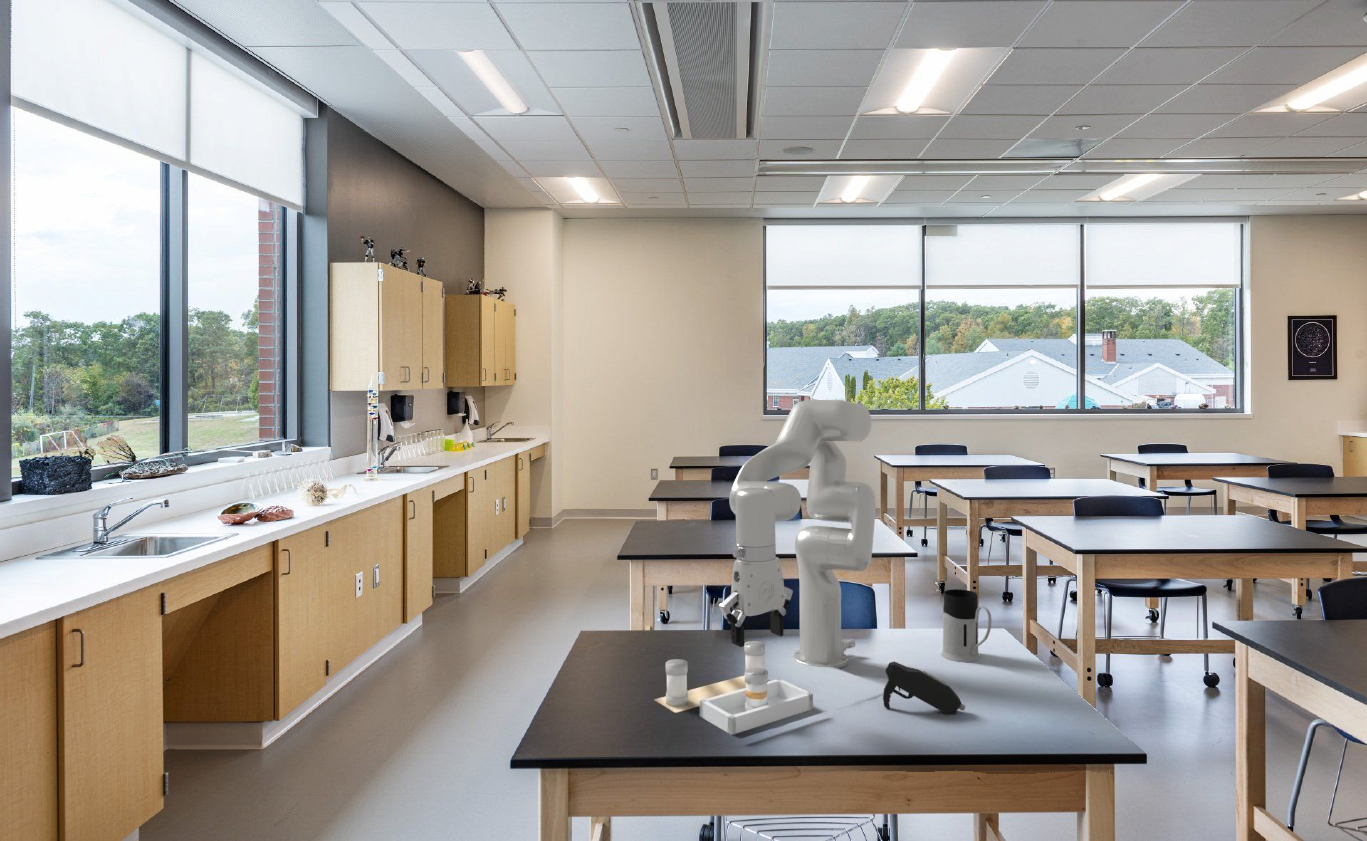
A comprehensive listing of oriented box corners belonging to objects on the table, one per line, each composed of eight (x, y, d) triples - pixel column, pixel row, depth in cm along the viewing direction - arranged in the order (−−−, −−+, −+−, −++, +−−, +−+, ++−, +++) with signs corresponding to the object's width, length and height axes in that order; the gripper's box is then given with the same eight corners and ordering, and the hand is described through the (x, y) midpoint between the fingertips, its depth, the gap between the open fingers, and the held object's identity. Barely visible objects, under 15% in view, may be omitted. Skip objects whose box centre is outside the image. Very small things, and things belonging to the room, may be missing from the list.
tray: (779, 697, 161) (779, 678, 161) (813, 714, 153) (812, 693, 153) (699, 721, 150) (699, 700, 150) (731, 740, 142) (731, 718, 141)
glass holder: (962, 648, 191) (962, 587, 190) (1005, 667, 178) (1005, 601, 177) (933, 652, 188) (933, 590, 187) (974, 672, 174) (974, 605, 174)
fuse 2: (756, 676, 171) (756, 639, 170) (769, 682, 167) (769, 645, 167) (740, 680, 168) (740, 643, 168) (753, 686, 165) (753, 649, 164)
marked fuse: (772, 713, 151) (772, 672, 150) (754, 719, 148) (754, 677, 148) (758, 706, 154) (758, 666, 154) (740, 711, 152) (740, 670, 152)
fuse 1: (680, 696, 160) (679, 657, 159) (692, 703, 156) (691, 664, 156) (661, 701, 157) (661, 662, 157) (673, 708, 153) (673, 668, 153)
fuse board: (754, 677, 173) (754, 672, 173) (777, 688, 166) (777, 683, 166) (653, 704, 158) (653, 699, 158) (675, 717, 152) (675, 712, 152)
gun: (946, 743, 152) (971, 699, 151) (870, 700, 154) (894, 657, 153) (944, 737, 155) (969, 694, 154) (870, 695, 157) (893, 652, 156)
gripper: (732, 563, 142) (734, 655, 143) (802, 549, 152) (804, 635, 153) (708, 555, 149) (710, 643, 150) (777, 542, 158) (779, 625, 159)
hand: (757, 639), depth 151 cm, fingers open, 9 cm apart
